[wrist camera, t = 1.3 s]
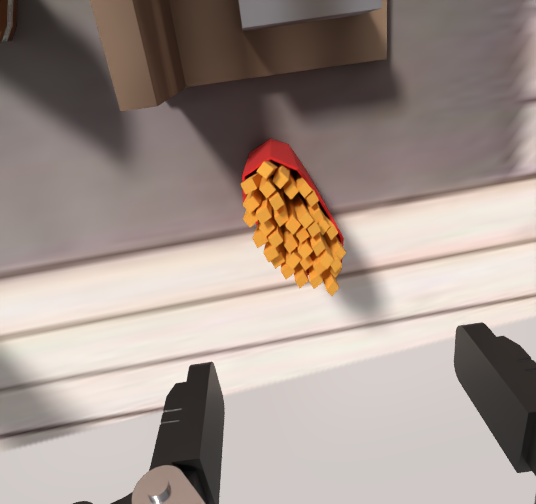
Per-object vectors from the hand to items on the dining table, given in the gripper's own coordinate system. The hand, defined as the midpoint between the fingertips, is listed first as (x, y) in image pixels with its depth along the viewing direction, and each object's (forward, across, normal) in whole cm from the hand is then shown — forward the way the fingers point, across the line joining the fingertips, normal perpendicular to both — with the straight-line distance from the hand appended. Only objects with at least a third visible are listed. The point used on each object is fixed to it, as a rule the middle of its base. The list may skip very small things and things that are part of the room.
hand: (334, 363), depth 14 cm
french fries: (+24, 0, 0) cm, 24 cm away
